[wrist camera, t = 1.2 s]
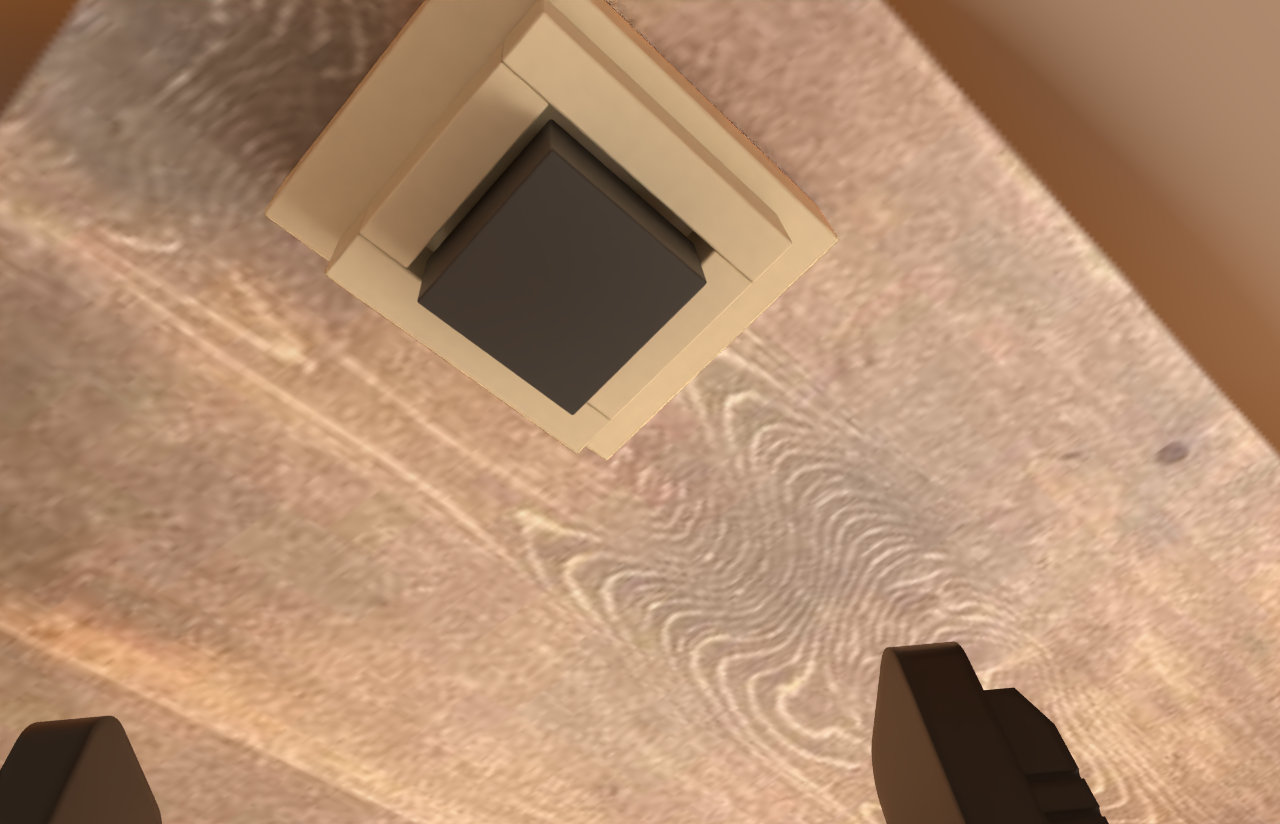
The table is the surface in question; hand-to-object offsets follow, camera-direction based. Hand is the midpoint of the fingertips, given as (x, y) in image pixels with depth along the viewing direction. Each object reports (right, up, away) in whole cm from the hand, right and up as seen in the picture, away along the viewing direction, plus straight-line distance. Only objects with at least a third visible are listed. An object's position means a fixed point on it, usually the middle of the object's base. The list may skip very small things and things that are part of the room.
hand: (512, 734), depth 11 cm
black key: (0, +7, +11) cm, 13 cm away
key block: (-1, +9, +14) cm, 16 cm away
